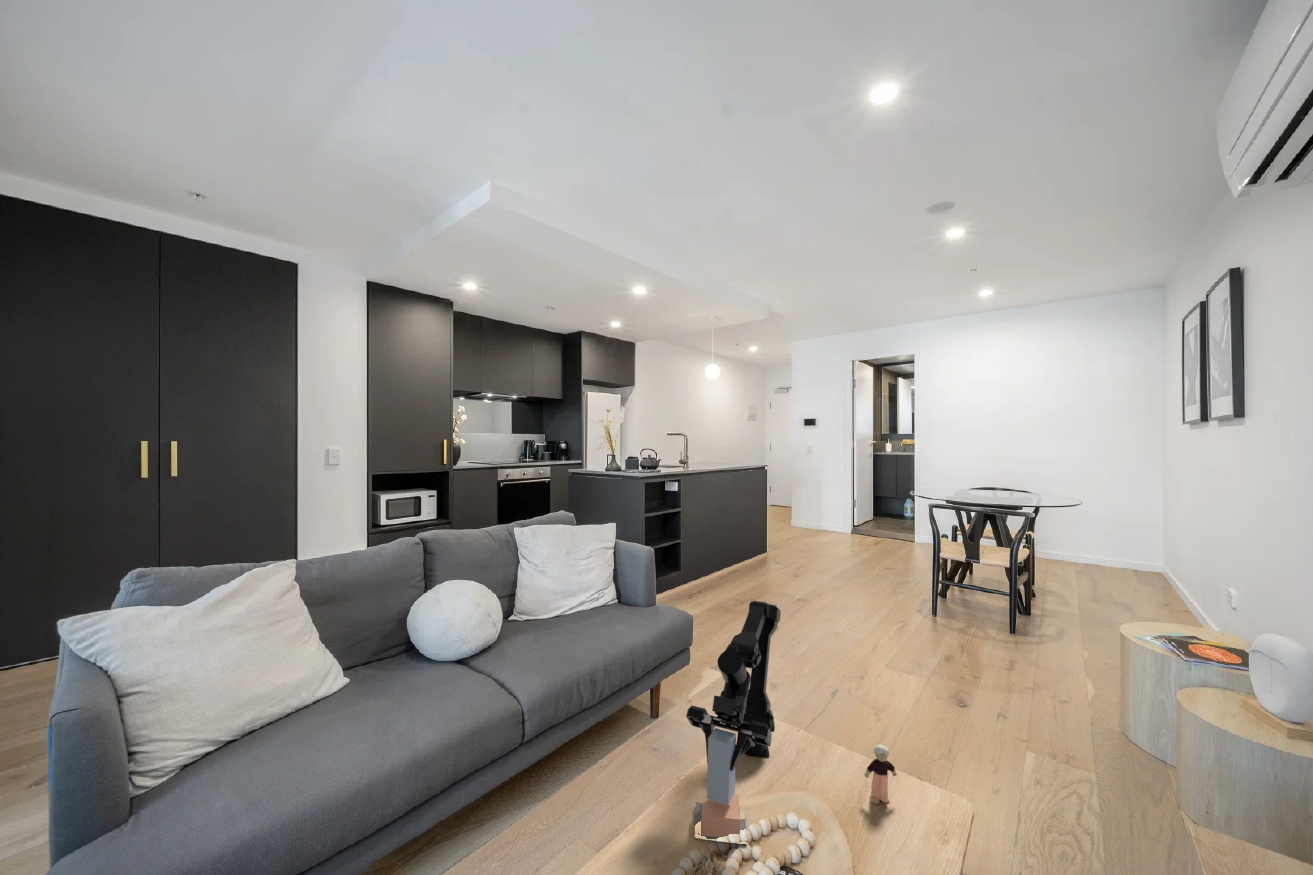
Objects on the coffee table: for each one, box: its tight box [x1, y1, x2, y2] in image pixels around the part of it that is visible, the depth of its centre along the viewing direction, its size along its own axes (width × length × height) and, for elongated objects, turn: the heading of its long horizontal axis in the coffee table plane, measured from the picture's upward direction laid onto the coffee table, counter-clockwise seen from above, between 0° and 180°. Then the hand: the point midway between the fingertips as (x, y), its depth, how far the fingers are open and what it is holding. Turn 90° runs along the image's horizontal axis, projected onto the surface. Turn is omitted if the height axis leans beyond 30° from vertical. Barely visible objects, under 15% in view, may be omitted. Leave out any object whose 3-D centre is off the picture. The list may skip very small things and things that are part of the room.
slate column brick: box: [706, 727, 737, 805], centre depth 109 cm, size 5×5×12 cm
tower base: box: [694, 790, 747, 839], centre depth 109 cm, size 10×11×5 cm
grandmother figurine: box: [863, 744, 898, 805], centre depth 119 cm, size 8×4×13 cm, turn 105°
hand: (719, 767), depth 107 cm, fingers closed on slate column brick, 5 cm apart
